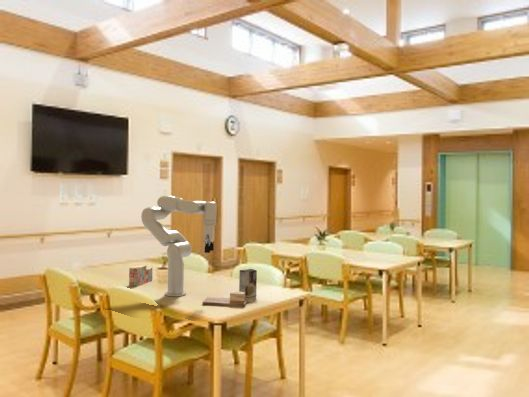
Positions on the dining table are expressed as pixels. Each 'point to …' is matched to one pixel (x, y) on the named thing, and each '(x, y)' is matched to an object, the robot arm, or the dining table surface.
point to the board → (223, 302)
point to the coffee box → (248, 282)
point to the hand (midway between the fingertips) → (209, 251)
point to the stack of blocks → (139, 275)
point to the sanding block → (237, 296)
